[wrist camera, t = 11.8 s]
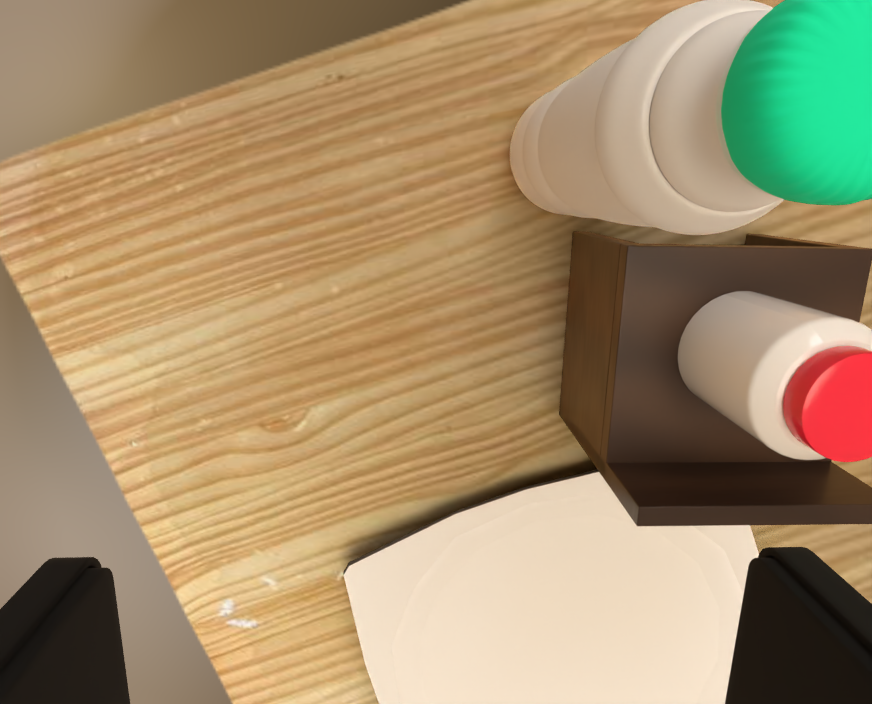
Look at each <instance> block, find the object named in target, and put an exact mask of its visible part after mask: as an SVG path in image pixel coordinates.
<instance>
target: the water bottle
mask: <svg viewBox="0 0 872 704" xmlns="http://www.w3.org/2000/svg"><path fill="white" fill-rule="evenodd" d="M510 164H511V170H512V173H513V176H514V179H515V181H516V183H517V185H518V187H519V189H520V190H521V191H522V193H523V194H524V195H525V196H526V197H527V198H528V199H529V200H530V201H531V202H532V203H533V204H535V205H536V206H538V207H540V208H542V209H543V210H546V211H549V212H552V213H556V214H561V215H572V216H577V217H583V218H597V219H600V220H604V221H609V222H614V223H619V224H626V225H633V226H643V227H656V228H659V229H662V230H665V231H668V232H673V233H678V234H685V235H709V234H716V233H721V232H726V231H729V230H733V229H736V228H739V227H741V226H744V225H746V224H748V223H751V222H753V221H755V220H756V219H758V218H760V217H762V216H763V215H765V214H766V213H768V212H769V211H771V210H772V209H774V208H775V207H776V206H778V205H779V204H780V203H781V202H782V201H784V200H788V201H794V202H800V203H806V204H816V205H847V204H852V203H856V202H859V201H861V200H868V199H872V0H785V1H783V2H781V3H780V4H778V5H777V6H775V7H774V8H772V7H770V6H768V5H765V4H762V3H759V2H755V1H751V0H704V1H700V2H696V3H693V4H689V5H686V6H684V7H681V8H679V9H677V10H675V11H673V12H670V13H669V14H667V15H665V16H663V17H662V18H660V19H658V20H657V21H655V22H654V23H653V24H651V25H650V26H649V27H647V28H646V29H645V30H644V31H642V32H641V33H640V34H639V35H638V36H637V37H636V38H635V39H633V40H631V41H628V42H627V43H625V44H623V45H621V46H619V47H618V48H616V49H614V50H613V51H611V52H609V53H608V54H606V55H605V56H603V57H601V58H600V59H598V60H597V61H595V62H594V63H593V64H591V65H590V66H588V67H587V68H586V69H584V70H583V71H582V72H580V73H579V74H578V75H577V76H575V77H573V78H571V79H569V80H567V81H565V82H563V83H562V84H560V85H559V86H557V87H556V88H555V89H554V90H552V91H550V92H548V93H546V94H544V95H543V96H541V97H540V98H538V99H537V100H536V101H535V102H533V103H532V104H531V105H530V106H529V107H528V108H527V109H526V111H525V112H524V113H523V115H522V116H521V118H520V119H519V121H518V123H517V125H516V127H515V129H514V132H513V135H512V139H511V144H510Z"/></svg>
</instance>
